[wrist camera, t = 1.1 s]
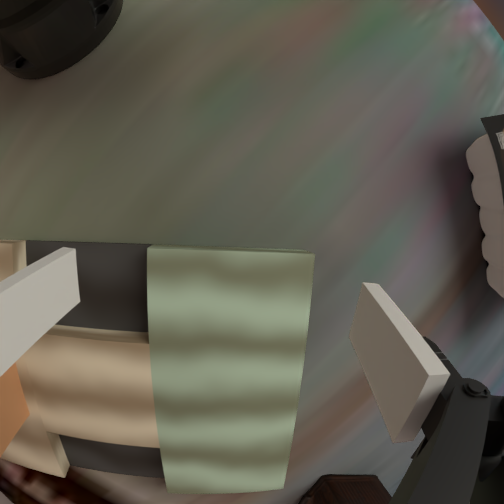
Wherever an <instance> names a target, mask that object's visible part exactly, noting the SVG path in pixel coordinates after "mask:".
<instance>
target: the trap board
mask: <svg viewBox="0 0 504 504" xmlns="http://www.w3.org/2000/svg"><path fill="white" fill-rule="evenodd" d="M62 247H67V248H74V249H76V263H77V275H78V286H79V295H80V302H79V303H78V304H77V305H76V306H75V307H74V308H72V309H71V310H70V311H69V312H68V313H67V314H66V315H65V316H64V317H62V318H61V319H60V320H59V321H58V322H57V323H56V324H55V325H54V326H53V327H51V328H50V329H49V330H48V331H47V332H46V333H45V334H44V335H43V336H42V337H41V338H40V339H39V340H38V341H36V342H35V343H34V344H33V345H32V346H31V347H30V348H29V349H28V350H27V351H26V352H25V353H24V354H23V355H22V356H21V357H20V358H19V359H18V360H17V361H16V367H17V371H18V375H19V379H20V382H21V386H22V390H23V393H24V397H25V400H26V403H27V406H28V410H29V413H30V415H29V416H28V418H27V419H26V420H25V422H24V423H23V425H22V426H21V428H20V429H19V430H18V432H17V433H16V435H15V436H14V438H13V439H12V441H11V442H10V444H9V445H8V447H7V448H6V450H5V451H4V453H3V454H2V456H1V457H0V458H2V459H5V460H7V461H10V462H13V463H16V464H19V465H22V466H25V467H28V468H31V469H34V470H38V471H41V472H44V473H48V474H52V475H55V476H59V477H63V478H65V476H66V473H67V471H68V468H69V466H70V465H72V466H77V467H82V468H87V469H93V470H98V471H104V472H111V473H118V474H126V475H134V476H144V477H156V478H165V482H166V487H167V492H168V493H180V494H224V493H244V492H256V491H267V490H276V489H283V487H284V482H285V477H286V471H287V466H288V461H289V455H290V450H291V444H292V438H293V432H294V426H295V420H296V414H297V407H298V400H299V394H300V387H301V379H302V372H303V364H304V357H305V349H306V340H307V332H308V323H309V313H310V304H311V293H312V283H313V271H314V259H315V254H313V253H311V252H308V251H305V250H296V249H269V248H242V247H214V246H186V245H157V244H127V243H96V242H63V241H30V240H0V282H1V281H2V280H4V279H6V278H8V277H9V276H11V275H13V274H14V273H16V272H18V271H20V270H22V269H23V268H25V267H27V266H29V265H30V264H32V263H34V262H36V261H38V260H40V259H41V258H43V257H45V256H47V255H49V254H51V253H53V252H54V251H56V250H58V249H60V248H62Z"/></svg>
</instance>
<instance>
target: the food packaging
mask: <svg viewBox="0 0 504 504" xmlns="http://www.w3.org/2000/svg"><path fill="white" fill-rule="evenodd" d="M481 121H482V123H483V125H484V127H485V130H486V132H487V134H486V135H483V136H481V137H480V138H478V139H476V140H475V141H474V142H473V144H472V145H471V146H470V147H469V148H468V149H467V151H466V159H467V163H468V166H469V169H470V171H471V172H472V174H473V176H474V179H473V181H472V184H471V189H472V194H473V197H474V200H475V202H476V203H477V204H478V205H479V206H480V211H479V218H480V224H481V228H482V230H483V231H484V233H485V238H484V239H483V241H482V254H483V257H484V259H485V260H486V261H488V263H489V265H488V267H487V269H486V274H487V282H488V284H489V285H490V286H491V287H492V288H493V289H494V290H495V291H496V292H497V293H498V294H499V295H500V296H501V297H503V298H504V114H503V115H497V116H491V117H485V118H481Z"/></svg>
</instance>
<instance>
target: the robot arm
mask: <svg viewBox="0 0 504 504" xmlns="http://www.w3.org/2000/svg"><path fill="white" fill-rule="evenodd" d="M122 4H123V0H0V64H1V65H2V66H3V67H4V68H5V69H7V70H8V71H9V72H11V73H12V74H13V75H15V76H17V77H20V78H24V79H37V78H43V77H47V76H50V75H53V74H55V73H58V72H60V71H62V70H64V69H66V68H68V67H70V66H71V65H73V64H75V63H76V62H78V61H79V60H81V59H82V58H83V57H85V56H86V55H87V54H89V53H90V52H91V51H92V50H93V49H94V48H95V47H96V46H97V45H98V44H99V43H100V42H101V41H102V40H103V39H104V38H105V37H106V36H107V34H108V33H109V32H110V31H111V29H112V28H113V26H114V25H115V23H116V21H117V19H118V17H119V15H120V12H121V9H122ZM79 302H80V295H79V286H78V275H77V263H76V249H74V248H67V247H62V248H60V249H58V250H56V251H54V252H53V253H51V254H49V255H47V256H45V257H43V258H41V259H40V260H38V261H36V262H34V263H32V264H30V265H29V266H27V267H25V268H23V269H22V270H20V271H18V272H16V273H14V274H13V275H11V276H9V277H8V278H6V279H4V280H2V281H1V282H0V377H1V376H2V375H3V374H4V373H5V372H6V371H7V370H8V369H9V368H10V367H11V366H12V365H13V364H14V363H15V362H16V361H17V360H18V359H19V358H20V357H21V356H22V355H23V354H24V353H25V352H26V351H27V350H28V349H29V348H30V347H31V346H32V345H33V344H34V343H35V342H36V341H38V340H39V339H40V338H41V337H42V336H43V335H44V334H45V333H46V332H47V331H48V330H49V329H50V328H51V327H53V326H54V325H55V324H56V323H57V322H58V321H59V320H60V319H61V318H62V317H64V316H65V315H66V314H67V313H68V312H69V311H70V310H71V309H72V308H74V307H75V306H76V305H77V304H78V303H79ZM349 339H350V341H351V343H352V346H353V348H354V350H355V352H356V355H357V357H358V359H359V362H360V364H361V366H362V369H363V371H364V373H365V376H366V378H367V380H368V383H369V385H370V388H371V390H372V392H373V395H374V397H375V400H376V402H377V405H378V407H379V409H380V412H381V414H382V417H383V419H384V422H385V424H386V427H387V430H388V432H389V435H390V437H391V440H392V442H393V443H399V442H407V441H413V440H414V439H415V437H416V435H417V434H418V432H419V431H420V429H421V428H422V430H423V432H424V434H425V438H424V439H423V441H422V442H421V444H420V445H419V447H418V448H417V450H416V451H415V452H414V454H413V455H412V457H411V458H412V459H413V460H412V462H411V464H410V466H409V468H408V470H407V472H406V474H405V476H404V478H403V479H402V481H401V483H400V485H399V487H398V488H397V490H396V492H395V493H394V495H393V497H392V499H391V500H390V502H389V503H388V504H469V502H470V504H504V397H503V396H493V395H491V394H490V391H489V390H488V388H487V387H486V386H485V385H483V384H482V383H481V382H479V381H477V380H474V379H470V378H462V377H461V376H460V374H459V373H458V372H457V370H456V369H455V368H454V367H453V365H452V364H451V363H450V361H449V360H447V358H446V356H445V355H444V354H443V353H441V352H442V351H441V350H440V349H439V348H438V346H437V345H436V344H435V343H434V342H432V341H431V340H429V339H428V338H426V337H422V336H421V335H420V334H419V332H418V331H417V330H416V329H415V327H414V326H413V325H412V324H411V323H410V321H409V320H408V319H407V318H406V316H405V315H404V314H403V313H402V312H401V310H400V309H399V308H398V307H397V305H396V304H395V303H394V302H393V301H392V300H391V298H390V297H389V296H388V295H387V294H386V292H385V291H384V290H383V289H382V288H381V287H380V285H379V284H374V283H362V287H361V291H360V295H359V299H358V303H357V307H356V311H355V315H354V319H353V323H352V326H351V330H350V333H349Z"/></svg>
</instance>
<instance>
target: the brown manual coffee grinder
mask: <svg viewBox="0 0 504 504" xmlns="http://www.w3.org/2000/svg"><path fill="white" fill-rule="evenodd" d="M391 499H392V497H391V495H390V494H389V493H388V491H387V490H386V489H385V487H384V486H383V484H382V483H381V482H380V480H379V479H378V477H377V476H376V475H335V474H329V475H323V476H322V477H321V478H320V479H319V480H318V482H317V483H316V484H315V485H314V486H313V487H312V488H311V489H310V490H309V491H308V493H307V494H306V495H305V496H304V497H303V498H302V499H301V501H300V503H299V504H388V503H389V502H390V500H391Z"/></svg>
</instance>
